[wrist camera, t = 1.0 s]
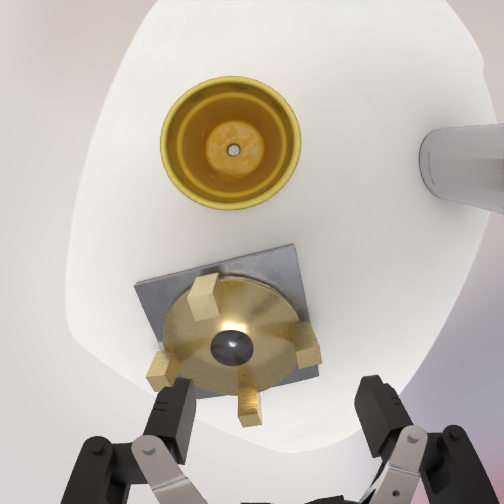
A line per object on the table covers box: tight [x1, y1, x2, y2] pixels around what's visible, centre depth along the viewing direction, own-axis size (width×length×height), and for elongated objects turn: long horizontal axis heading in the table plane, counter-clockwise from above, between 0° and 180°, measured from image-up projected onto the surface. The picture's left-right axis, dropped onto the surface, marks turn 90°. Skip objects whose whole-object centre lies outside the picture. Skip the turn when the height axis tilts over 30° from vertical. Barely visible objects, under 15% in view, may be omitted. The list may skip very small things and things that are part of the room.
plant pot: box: [160, 76, 301, 210], centre depth 23 cm, size 10×10×10 cm
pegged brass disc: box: [146, 273, 322, 428], centre depth 30 cm, size 19×19×6 cm
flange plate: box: [134, 244, 319, 399], centre depth 33 cm, size 19×19×1 cm
